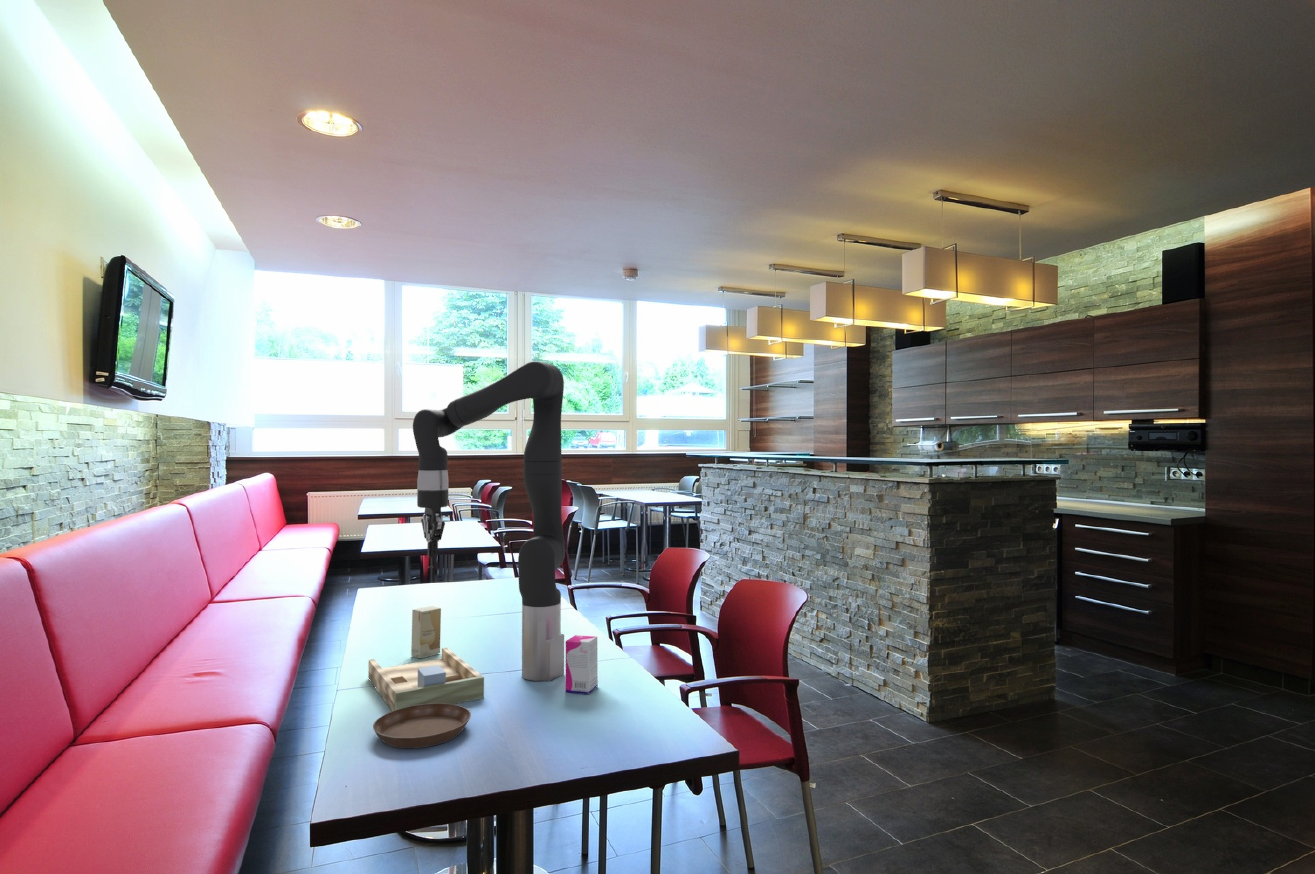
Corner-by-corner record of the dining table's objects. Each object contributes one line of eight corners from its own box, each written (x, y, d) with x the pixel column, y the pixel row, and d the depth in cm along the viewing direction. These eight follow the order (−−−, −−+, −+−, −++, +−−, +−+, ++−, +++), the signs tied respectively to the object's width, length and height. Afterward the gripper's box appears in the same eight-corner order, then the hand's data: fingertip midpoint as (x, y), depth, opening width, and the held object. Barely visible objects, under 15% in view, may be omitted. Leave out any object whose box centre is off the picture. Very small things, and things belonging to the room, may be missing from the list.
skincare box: (420, 659, 179) (420, 611, 179) (410, 656, 182) (410, 609, 182) (441, 653, 184) (441, 607, 185) (431, 650, 187) (432, 605, 187)
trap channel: (483, 697, 151) (483, 677, 151) (395, 715, 141) (396, 693, 141) (446, 665, 174) (446, 647, 174) (368, 679, 164) (368, 659, 164)
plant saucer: (374, 724, 138) (374, 708, 138) (466, 712, 144) (466, 697, 144) (371, 761, 121) (371, 743, 121) (475, 745, 128) (475, 729, 128)
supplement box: (598, 686, 159) (598, 635, 159) (588, 695, 153) (589, 642, 153) (574, 684, 160) (574, 634, 161) (564, 692, 155) (564, 640, 155)
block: (445, 693, 148) (445, 672, 148) (424, 697, 146) (424, 676, 146) (438, 685, 154) (438, 665, 154) (417, 689, 151) (417, 668, 151)
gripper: (455, 489, 173) (455, 558, 173) (440, 486, 184) (439, 552, 184) (425, 490, 169) (424, 561, 168) (411, 487, 180) (410, 554, 179)
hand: (432, 556), depth 176 cm, fingers closed
